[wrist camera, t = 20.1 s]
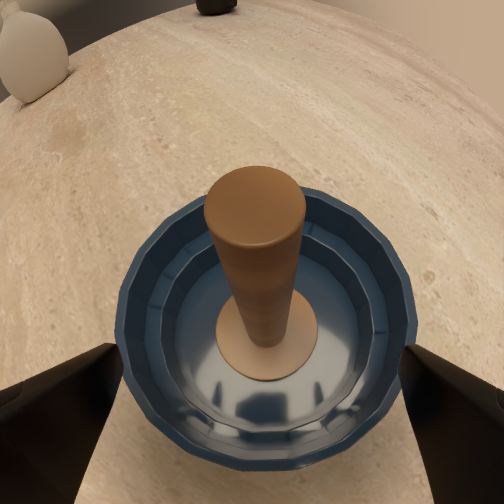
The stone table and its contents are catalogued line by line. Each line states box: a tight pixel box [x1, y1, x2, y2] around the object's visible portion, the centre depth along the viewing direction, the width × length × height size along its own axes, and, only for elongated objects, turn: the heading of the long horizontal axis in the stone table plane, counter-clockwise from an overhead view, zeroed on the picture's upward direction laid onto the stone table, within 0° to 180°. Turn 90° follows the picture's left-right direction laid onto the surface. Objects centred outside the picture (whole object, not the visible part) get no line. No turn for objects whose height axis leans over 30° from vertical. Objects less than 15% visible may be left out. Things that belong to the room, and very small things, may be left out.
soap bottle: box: [0, 0, 69, 103], centre depth 30 cm, size 14×8×27 cm, turn 129°
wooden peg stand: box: [204, 166, 318, 381], centre depth 12 cm, size 6×6×14 cm
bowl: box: [114, 186, 418, 471], centre depth 16 cm, size 15×15×6 cm
